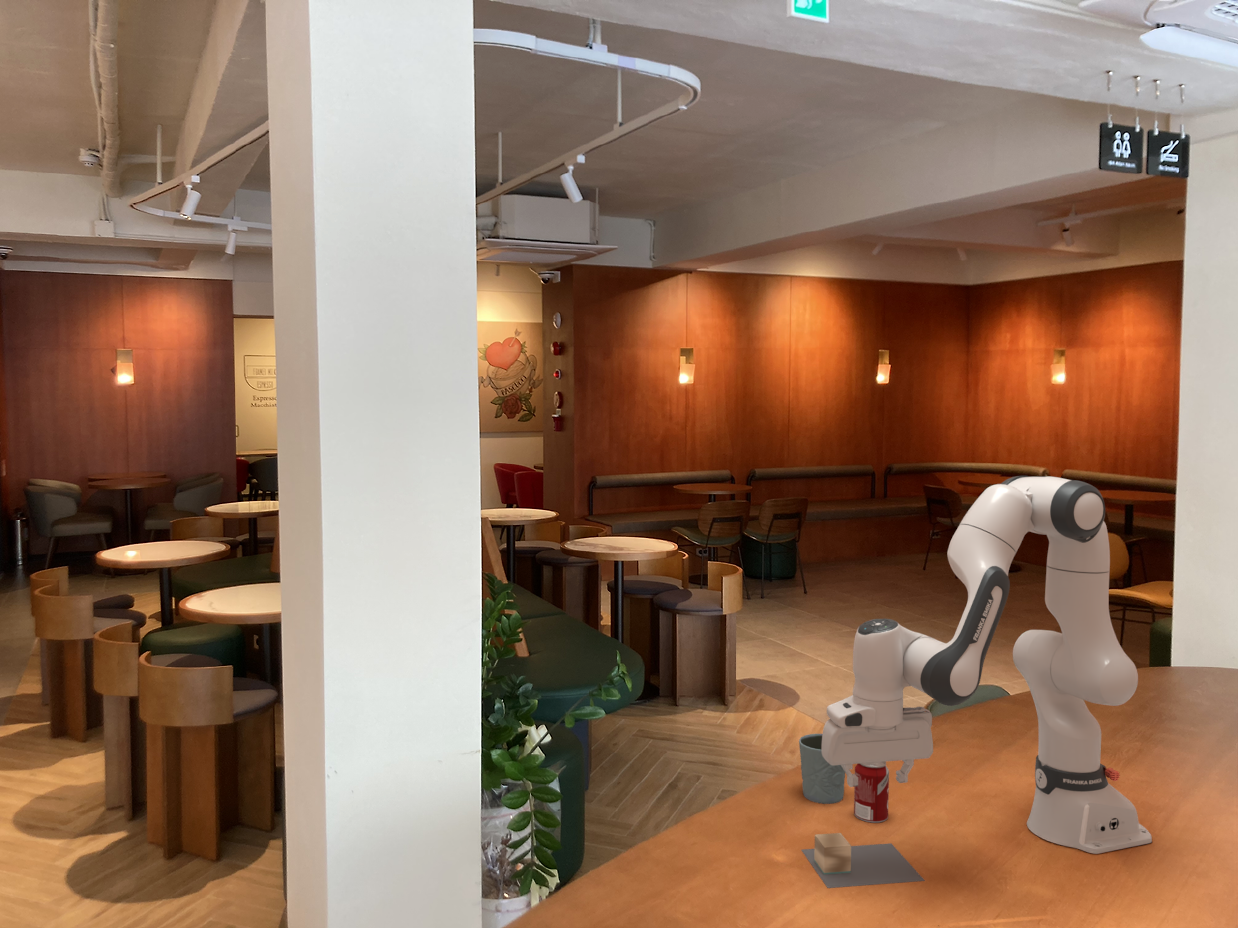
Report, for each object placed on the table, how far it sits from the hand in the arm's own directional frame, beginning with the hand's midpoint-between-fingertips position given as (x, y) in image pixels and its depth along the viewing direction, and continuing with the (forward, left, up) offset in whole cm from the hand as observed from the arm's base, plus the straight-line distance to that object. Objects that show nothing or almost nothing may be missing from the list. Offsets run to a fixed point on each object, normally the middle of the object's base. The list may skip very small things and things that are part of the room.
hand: (877, 783), depth 171 cm
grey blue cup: (-1, -31, -16) cm, 35 cm away
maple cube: (+8, 0, -10) cm, 13 cm away
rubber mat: (+3, 0, -16) cm, 16 cm away
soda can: (-7, -19, -16) cm, 26 cm away
